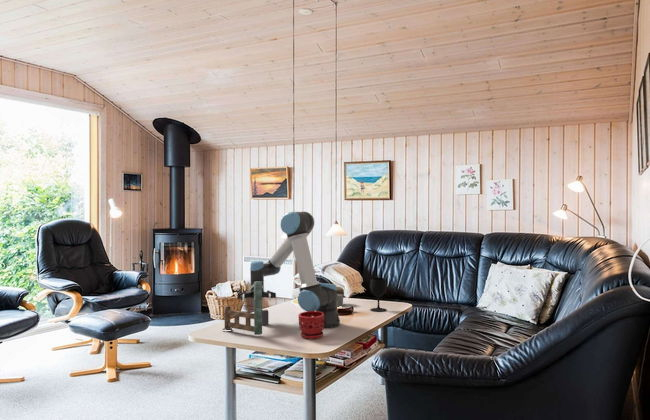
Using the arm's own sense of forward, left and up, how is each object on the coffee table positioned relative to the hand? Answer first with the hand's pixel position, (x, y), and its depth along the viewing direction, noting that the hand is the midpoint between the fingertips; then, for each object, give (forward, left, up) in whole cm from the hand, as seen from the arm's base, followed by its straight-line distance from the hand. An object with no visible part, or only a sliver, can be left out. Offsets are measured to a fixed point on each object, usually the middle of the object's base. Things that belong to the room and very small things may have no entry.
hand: (256, 298), depth 266 cm
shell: (+52, -72, -19) cm, 91 cm away
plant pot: (-16, -24, -19) cm, 34 cm away
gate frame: (+18, 0, -19) cm, 26 cm away
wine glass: (+25, -88, -19) cm, 93 cm away
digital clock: (+37, -60, -19) cm, 73 cm away
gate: (+7, +5, -18) cm, 20 cm away
